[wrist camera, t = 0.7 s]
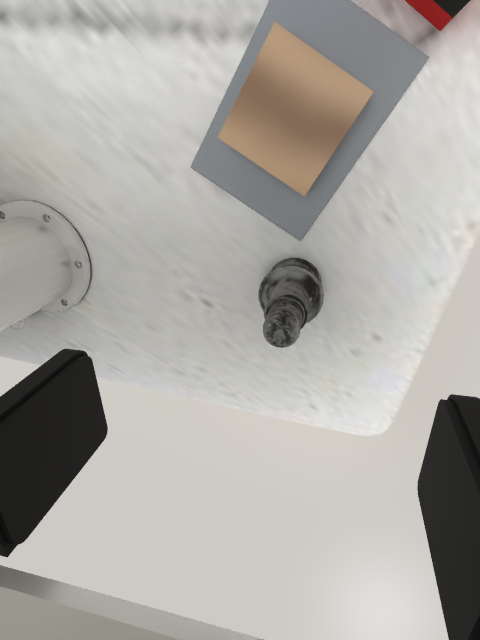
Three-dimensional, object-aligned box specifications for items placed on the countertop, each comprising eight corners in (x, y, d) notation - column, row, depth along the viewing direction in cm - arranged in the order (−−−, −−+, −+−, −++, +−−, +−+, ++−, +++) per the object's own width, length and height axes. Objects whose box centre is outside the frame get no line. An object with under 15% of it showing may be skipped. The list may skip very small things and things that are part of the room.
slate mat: (300, 239, 35) (300, 240, 34) (192, 166, 34) (190, 167, 34) (427, 58, 27) (429, 57, 27) (291, -40, 27) (290, -43, 26)
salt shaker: (256, 296, 38) (226, 356, 28) (278, 245, 36) (254, 290, 25) (308, 319, 38) (298, 388, 28) (335, 269, 35) (335, 325, 25)
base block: (307, 190, 32) (304, 196, 29) (230, 137, 32) (217, 137, 28) (369, 97, 28) (373, 91, 25) (282, 36, 28) (274, 21, 25)
